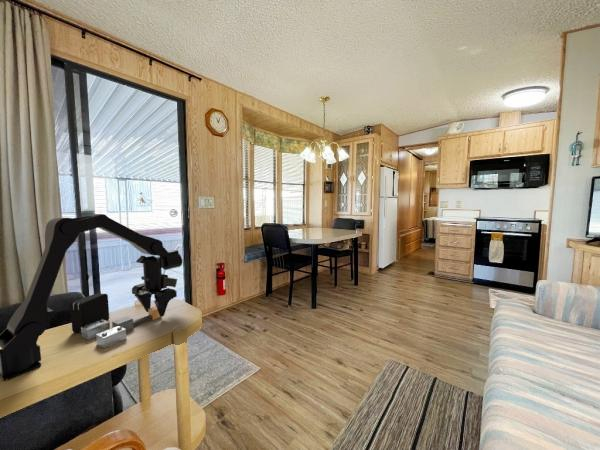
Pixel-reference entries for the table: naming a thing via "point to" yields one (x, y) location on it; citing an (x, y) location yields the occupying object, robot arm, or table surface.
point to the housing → (103, 333)
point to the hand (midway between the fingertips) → (155, 314)
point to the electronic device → (89, 311)
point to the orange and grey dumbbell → (130, 324)
